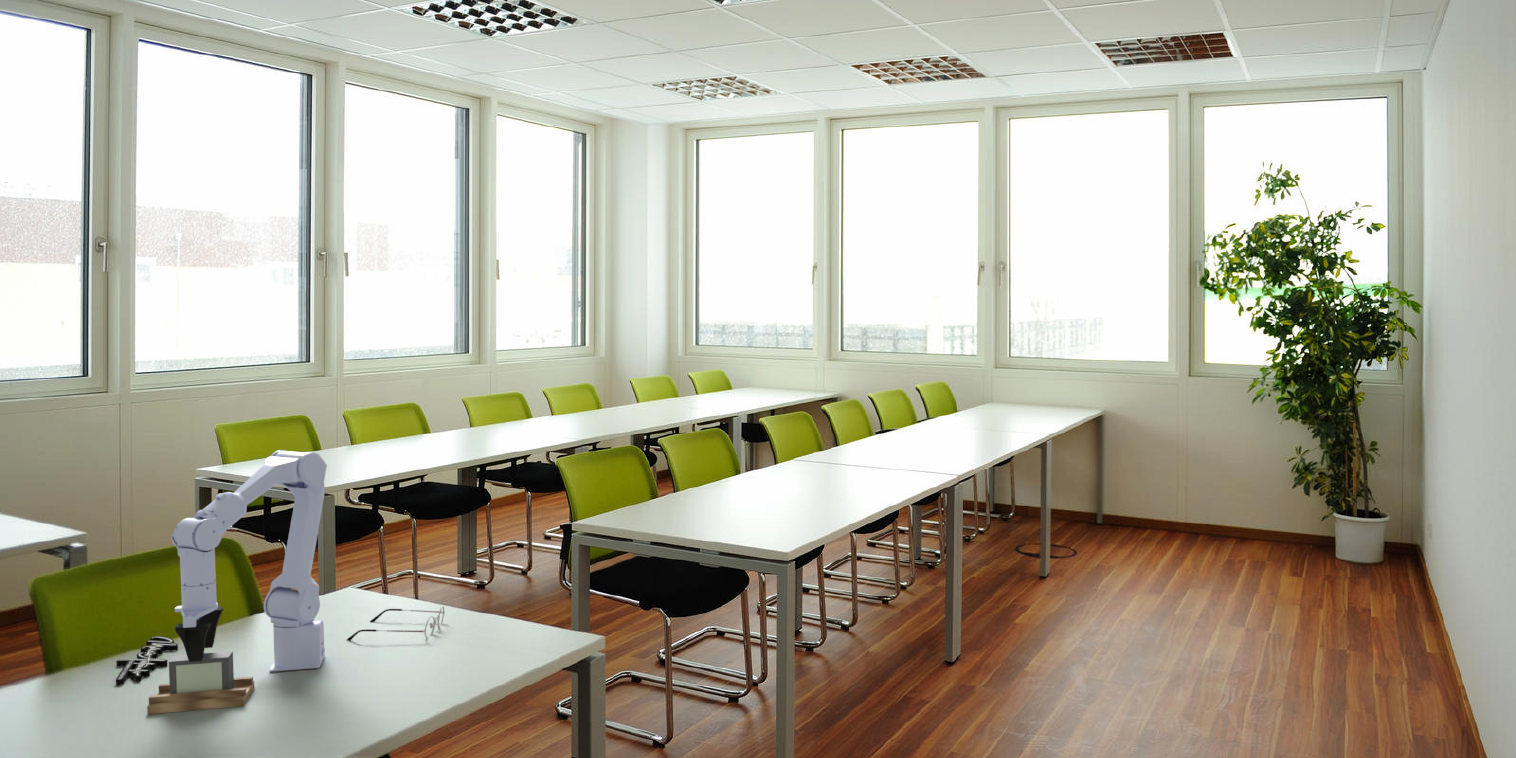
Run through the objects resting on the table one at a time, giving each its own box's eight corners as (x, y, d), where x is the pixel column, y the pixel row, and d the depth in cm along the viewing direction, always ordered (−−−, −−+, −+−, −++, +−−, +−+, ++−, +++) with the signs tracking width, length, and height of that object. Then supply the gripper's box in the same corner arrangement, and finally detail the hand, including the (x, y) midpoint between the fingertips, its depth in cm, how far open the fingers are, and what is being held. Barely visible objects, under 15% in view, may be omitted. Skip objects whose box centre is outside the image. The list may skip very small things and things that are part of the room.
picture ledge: (254, 688, 200) (254, 674, 200) (244, 705, 192) (243, 691, 191) (162, 696, 196) (161, 682, 196) (147, 714, 187) (146, 699, 187)
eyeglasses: (428, 644, 228) (427, 622, 227) (343, 644, 228) (343, 621, 228) (450, 622, 244) (450, 601, 243) (372, 622, 244) (371, 601, 244)
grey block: (234, 687, 197) (232, 651, 196) (229, 694, 193) (228, 657, 193) (175, 691, 194) (174, 655, 194) (169, 699, 191) (168, 661, 190)
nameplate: (132, 638, 226) (183, 633, 230) (132, 645, 226) (184, 640, 230) (101, 681, 201) (160, 675, 204) (102, 689, 201) (160, 682, 204)
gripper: (185, 573, 198) (188, 643, 199) (162, 594, 184) (165, 669, 185) (225, 571, 200) (228, 640, 201) (206, 591, 186) (209, 665, 187)
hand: (201, 654), depth 193 cm, fingers open, 7 cm apart
